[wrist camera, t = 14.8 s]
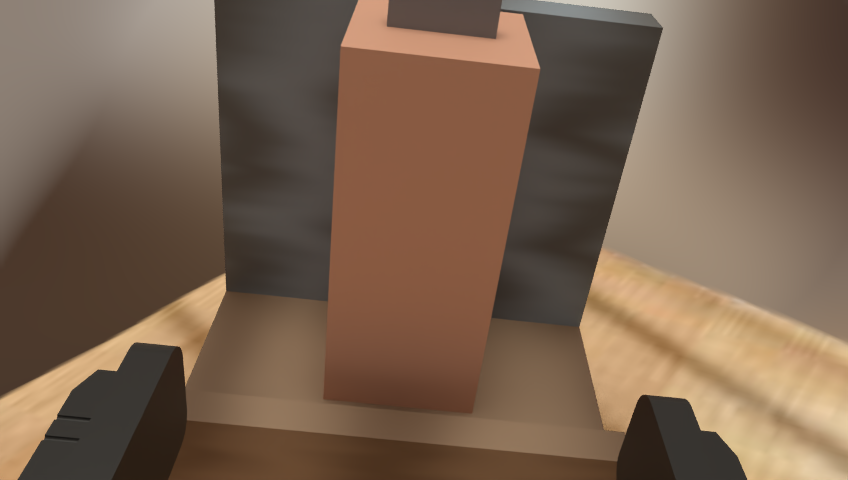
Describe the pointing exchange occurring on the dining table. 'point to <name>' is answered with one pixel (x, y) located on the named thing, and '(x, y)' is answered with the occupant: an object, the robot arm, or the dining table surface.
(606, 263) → the dining table surface
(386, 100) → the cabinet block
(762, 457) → the dining table surface
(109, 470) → the robot arm
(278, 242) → the grey brown l-shaped block
